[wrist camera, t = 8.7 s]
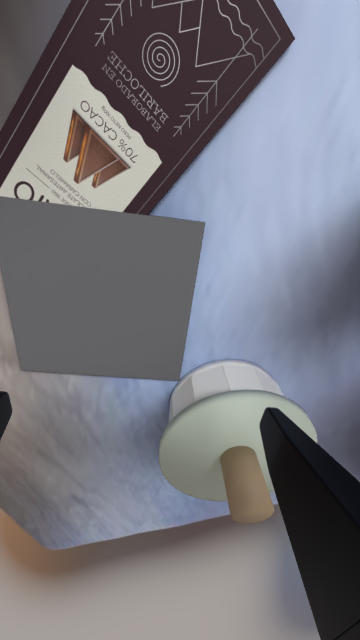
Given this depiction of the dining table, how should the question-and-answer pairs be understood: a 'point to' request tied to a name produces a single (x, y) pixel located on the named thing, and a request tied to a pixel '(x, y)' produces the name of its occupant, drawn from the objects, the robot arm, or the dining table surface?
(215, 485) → the lid
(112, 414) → the dining table surface
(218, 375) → the bowl
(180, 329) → the mat
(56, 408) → the dining table surface
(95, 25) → the chocolate bar
